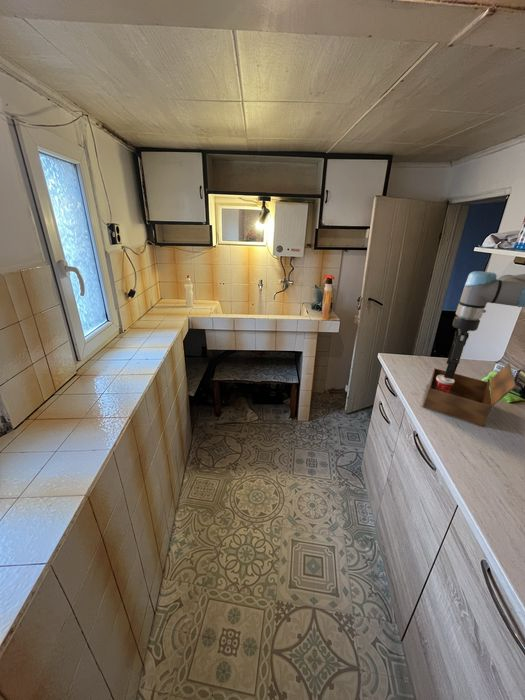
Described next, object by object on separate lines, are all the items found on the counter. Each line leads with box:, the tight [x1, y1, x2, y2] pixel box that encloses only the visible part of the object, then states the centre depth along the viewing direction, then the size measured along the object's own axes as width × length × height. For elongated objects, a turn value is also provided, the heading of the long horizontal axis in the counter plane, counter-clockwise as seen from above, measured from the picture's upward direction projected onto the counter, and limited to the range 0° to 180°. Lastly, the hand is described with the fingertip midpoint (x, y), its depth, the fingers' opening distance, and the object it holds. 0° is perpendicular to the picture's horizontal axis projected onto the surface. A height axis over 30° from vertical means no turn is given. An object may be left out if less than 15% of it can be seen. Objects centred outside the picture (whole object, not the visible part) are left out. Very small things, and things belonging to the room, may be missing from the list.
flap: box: [488, 362, 517, 406], centre depth 99 cm, size 9×20×1 cm
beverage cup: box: [434, 375, 455, 393], centre depth 110 cm, size 6×6×14 cm
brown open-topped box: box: [422, 367, 493, 427], centre depth 108 cm, size 19×20×8 cm
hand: (449, 370), depth 107 cm, fingers open, 13 cm apart
